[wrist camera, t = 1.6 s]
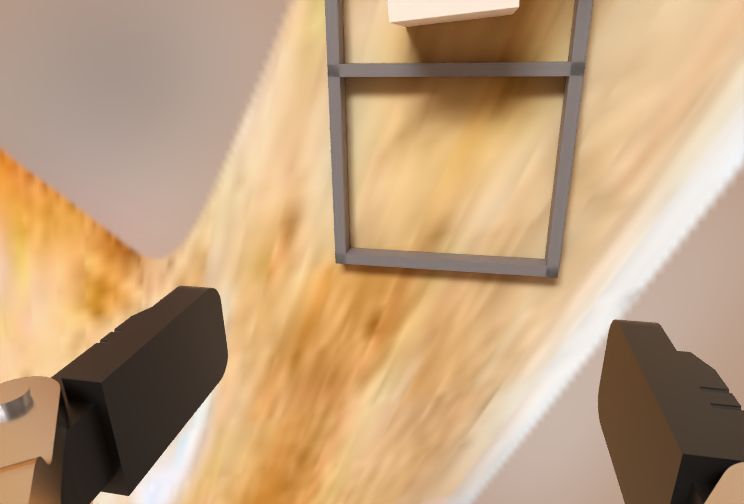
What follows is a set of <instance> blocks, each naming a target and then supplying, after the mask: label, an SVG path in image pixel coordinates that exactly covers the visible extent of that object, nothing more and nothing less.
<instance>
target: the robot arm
mask: <svg viewBox="0 0 744 504" xmlns="http://www.w3.org/2000/svg"><path fill="white" fill-rule="evenodd" d="M227 359H228V350H227V342H226V335H225V328H224V320H223V313H222V305H221V299H220V295H219V293H218V291H217V290H216V289H214V288H205V287H192V286H179V287H177V288H176V289H174V290H173V291H172V292H171V293H169V294H168V295H167V296H165V297H164V298H163V299H162V300H160V301H159V302H158V303H156V304H155V305H154V306H153V307H151V308H149V309H146V310H144V311H142V312H140V313H138V314H135V315H133V316H131V317H130V318H129V319H127V320H126V321H125V322H123V323H122V324H121V325H119V326H118V327H117V328H115V329H114V332H110V333H109V334H108V335H106V336H105V337H104V338H102V339H101V340H100V343H96V344H94V345H93V346H92V347H91V348H89V349H88V350H87V351H85V352H84V353H83V354H81V355H80V356H79V357H77V358H76V359H75V360H74V361H72V362H71V363H70V364H68V365H67V366H66V367H64V368H63V369H62V370H60V371H59V372H58V373H57V374H55V375H54V376H53V377H51V378H49V377H42V376H32V377H24V378H19V379H14V380H11V381H7V382H4V383H1V384H0V504H93V502H92V501H93V500H94V498H95V497H96V496H97V495H98V494H99V493H100V492H107V493H114V494H120V495H126V496H129V495H130V494H131V493H132V491H133V490H134V489H135V488H136V486H137V485H138V484H139V483H140V481H141V480H142V479H143V478H144V476H145V475H146V474H147V473H148V471H149V470H150V469H151V467H152V466H153V465H154V464H155V462H156V461H157V460H158V459H159V457H160V456H161V455H162V454H163V452H164V451H165V450H166V449H167V447H168V446H169V445H170V443H171V442H172V441H173V440H174V438H175V437H176V436H177V435H178V433H179V432H180V431H181V430H182V428H183V427H184V426H185V424H186V423H187V422H188V421H189V419H190V418H191V417H192V416H193V414H194V413H195V412H196V411H197V409H198V408H199V407H200V406H201V404H202V403H203V402H204V400H205V399H206V398H207V397H208V395H209V394H210V393H211V392H212V390H213V389H214V388H215V387H216V385H217V384H218V383H219V381H220V380H221V379H222V377H223V375H224V372H225V369H226V365H227ZM598 412H599V419H600V423H601V427H602V430H603V434H604V437H605V440H606V444H607V447H608V450H609V453H610V456H611V460H612V463H613V466H614V469H615V472H616V476H617V479H618V482H619V486H620V489H621V492H622V495H623V498H624V502H625V504H744V411H742V410H741V405H740V404H739V403H738V401H737V400H736V398H735V397H734V396H733V394H732V393H729V389H728V387H727V386H726V385H725V383H724V382H723V381H722V379H721V378H720V376H719V375H718V373H717V372H716V371H715V369H713V368H712V367H710V366H709V365H708V364H706V363H705V362H703V361H702V360H701V359H699V358H698V357H696V356H695V355H694V354H692V353H691V352H683V351H682V352H681V351H676V349H675V347H674V346H673V344H672V343H671V341H670V339H669V338H668V336H667V335H666V333H665V332H664V330H663V328H662V327H661V325H660V324H658V323H652V322H639V321H627V320H613V321H612V323H611V326H610V329H609V333H608V339H607V345H606V351H605V357H604V363H603V368H602V374H601V380H600V386H599V394H598Z"/></svg>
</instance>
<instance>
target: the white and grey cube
mask: <svg viewBox="0 0 744 504" xmlns="http://www.w3.org/2000/svg"><path fill="white" fill-rule="evenodd" d="M518 8H519V0H388V13H389V23H393V24H397V25H400V26H404V27H411V26H419V25H428V24H436V23H445V22H453V21H462V20H470V19H479V18H487V17H496V16H504V15H512V14H513V13H514V12H515V11H516V10H517V9H518Z"/></svg>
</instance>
